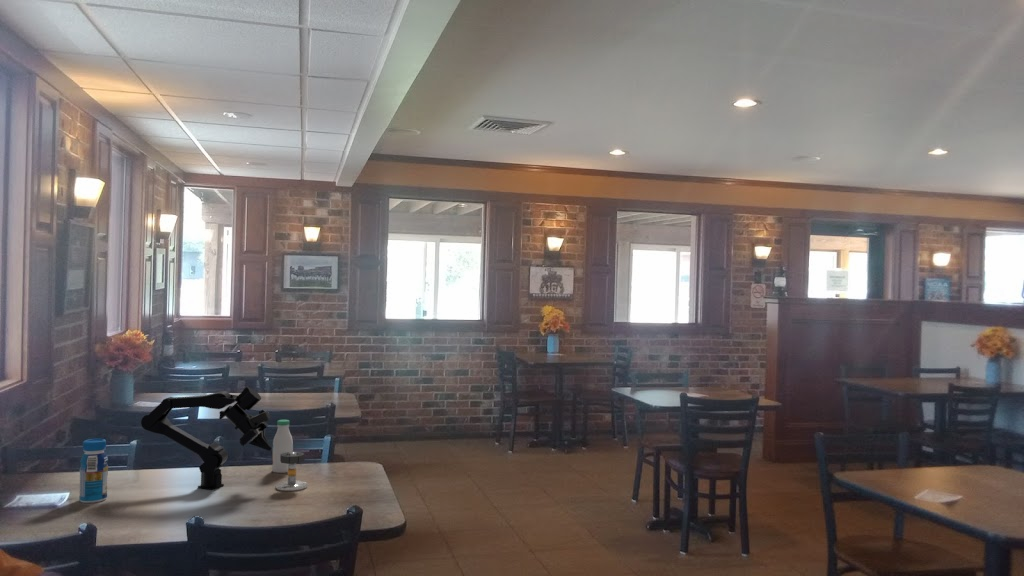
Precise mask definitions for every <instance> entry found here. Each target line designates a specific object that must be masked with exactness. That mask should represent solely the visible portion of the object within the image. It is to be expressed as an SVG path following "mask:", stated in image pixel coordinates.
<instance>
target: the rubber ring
mask: <svg viewBox="0 0 1024 576" xmlns="http://www.w3.org/2000/svg"><path fill="white" fill-rule="evenodd" d="M295 452H296V455H292V456H290V455H288V453H289V452H285V453H282V454H280V461H281V463H286V464H295V463H296V464H301V463H303V462H305V453H304V452H302V451H295Z"/></svg>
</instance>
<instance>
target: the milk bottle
mask: <svg viewBox="0 0 1024 576" xmlns="http://www.w3.org/2000/svg"><path fill="white" fill-rule="evenodd" d="M276 422H277V430H276V433H275V435H274V436H273V440H272V451H271V452H272V453H271V455H272V456H271V457H272V458H271V460H272V462H271V470H272V473H275V474H276V473H277V474H279V473H280V474H283V473H288V464H286V463H281V461H280V454H282V453H285V452H294V444H293V443H294V442H293V436H292V434H291V431H290V422H291V421H290V420H289V419H279V420H277V421H276Z"/></svg>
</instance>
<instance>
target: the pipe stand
mask: <svg viewBox="0 0 1024 576" xmlns="http://www.w3.org/2000/svg"><path fill="white" fill-rule="evenodd" d="M296 452H297V451H293V452H289V453H288V455H290V456H292V455H296ZM306 487H308V482H306V481H303V480H297V463H295V464H288V472H287V480H285V481H279V482H278V483H276V484H275V490H277V491H280V492H297V491H298V492H299V491H303V490H305V489H307V488H306ZM302 489H303V490H302Z"/></svg>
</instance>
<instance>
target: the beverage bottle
mask: <svg viewBox="0 0 1024 576" xmlns="http://www.w3.org/2000/svg"><path fill="white" fill-rule="evenodd" d="M106 448H107V440H106V439H104V438H91V439H86V440H84V441H83V442H82V451H83V452H84V453H83V454H82V456H81V458H80V459H79V460H80V461H79V463H80V467H79V497H78V499H79V502H80V503H83V504H92V503H94V504H95V503H100V502H102V501H105V500H106V499H107V497H108V473H109V465H108V461H109V457H108V455H107V453H106V452H105V451H106V450H107V449H106Z"/></svg>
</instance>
